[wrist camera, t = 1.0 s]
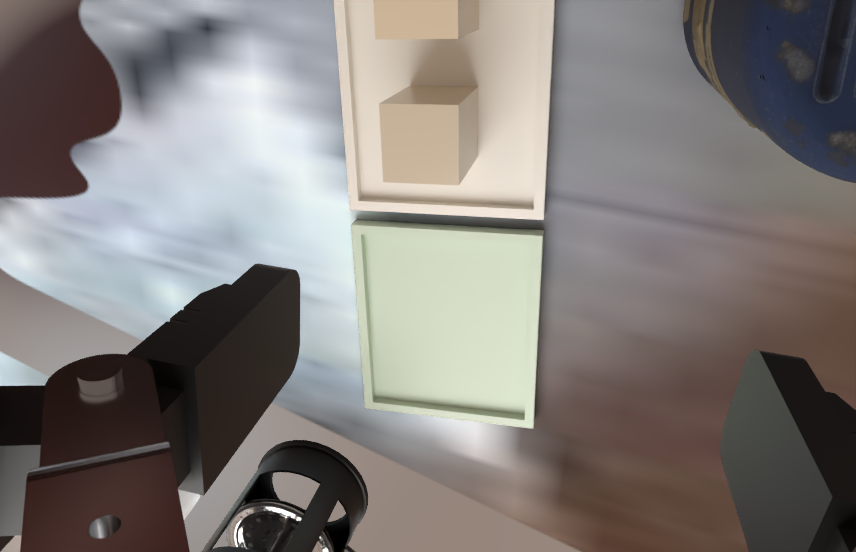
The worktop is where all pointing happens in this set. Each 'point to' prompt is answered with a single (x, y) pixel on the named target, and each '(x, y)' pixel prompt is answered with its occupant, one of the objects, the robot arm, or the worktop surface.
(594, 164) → the worktop surface
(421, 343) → the bin
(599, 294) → the worktop surface
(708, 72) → the canister
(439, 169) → the beige block
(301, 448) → the french press
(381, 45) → the bin
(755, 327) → the worktop surface
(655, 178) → the worktop surface
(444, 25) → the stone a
